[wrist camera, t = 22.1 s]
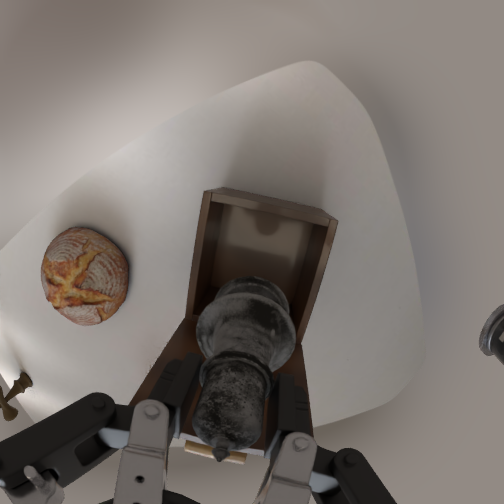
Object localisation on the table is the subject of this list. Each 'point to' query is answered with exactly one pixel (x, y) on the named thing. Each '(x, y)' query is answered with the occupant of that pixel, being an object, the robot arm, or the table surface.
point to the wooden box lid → (178, 349)
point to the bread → (84, 276)
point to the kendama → (17, 388)
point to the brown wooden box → (260, 249)
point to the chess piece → (240, 361)
